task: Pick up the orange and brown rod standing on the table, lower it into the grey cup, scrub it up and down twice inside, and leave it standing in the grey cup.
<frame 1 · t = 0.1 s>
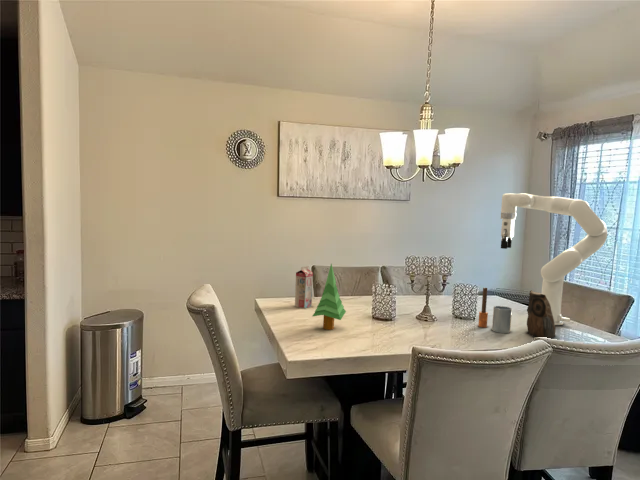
hand: (505, 248, 245), 37 cm above the table, tool pointing down, fingers open, 9 cm apart
grey cup: (501, 330, 214), on the table
orange and brown rod: (482, 326, 220), on the table
juice carton: (303, 306, 248), on the table
decorative tree: (328, 328, 205), on the table
owl: (541, 336, 207), on the table
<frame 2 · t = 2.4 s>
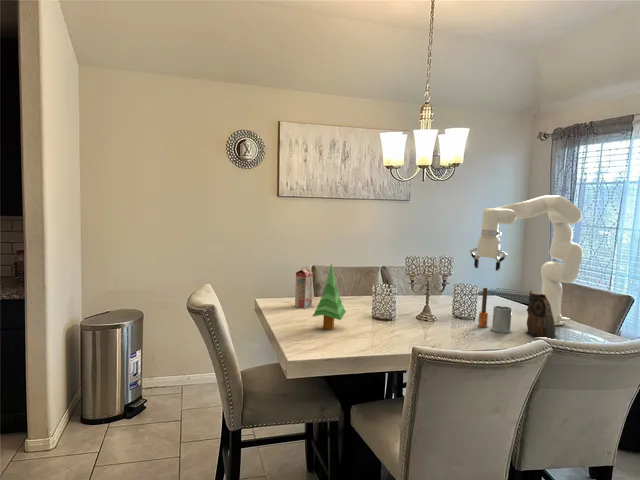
hand: (486, 269, 219), 28 cm above the table, tool pointing down, fingers open, 9 cm apart
nothing on the table moved.
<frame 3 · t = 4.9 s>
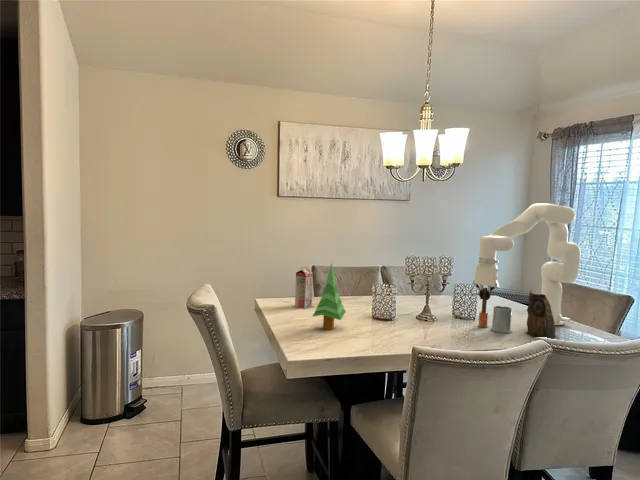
hand: (484, 299, 219), 14 cm above the table, tool pointing down, fingers closed on orange and brown rod, 2 cm apart
orange and brown rod: (482, 326, 220), on the table, touching gripper
everything else where it was.
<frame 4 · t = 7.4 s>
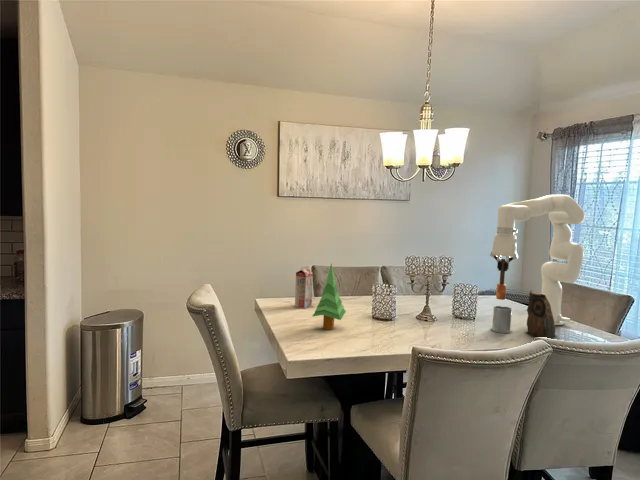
hand: (502, 270, 212), 29 cm above the table, tool pointing down, fingers closed on orange and brown rod
orange and brown rod: (500, 298, 213), point 15 cm above the table, touching gripper
everything else where it was.
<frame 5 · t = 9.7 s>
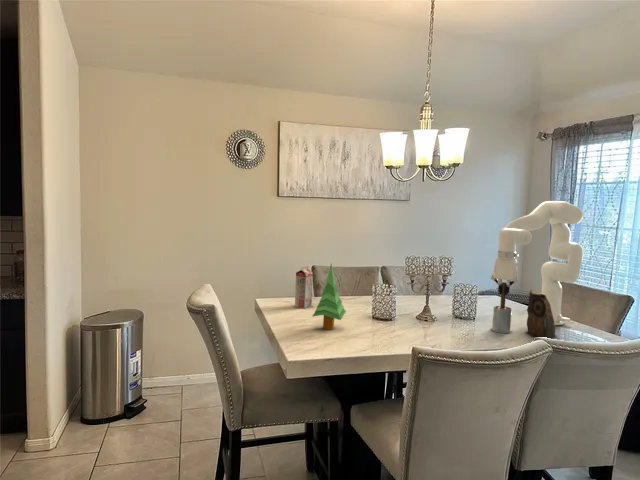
hand: (503, 293, 212), 18 cm above the table, tool pointing down, fingers closed on orange and brown rod
orange and brown rod: (501, 322, 213), point 4 cm above the table, touching gripper
everything else where it was.
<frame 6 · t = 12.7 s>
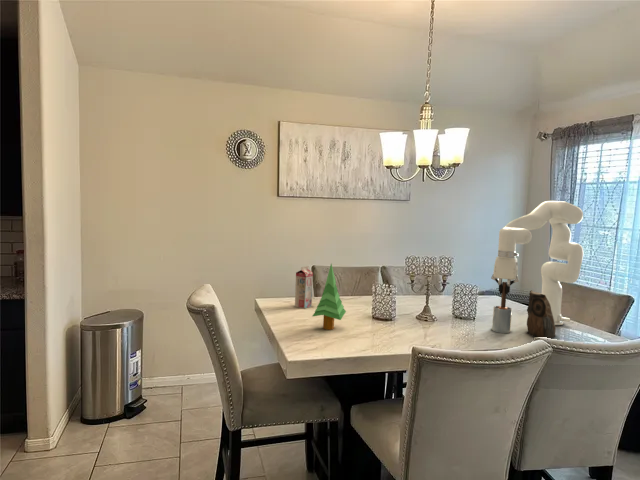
hand: (504, 293, 212), 18 cm above the table, tool pointing down, fingers closed on orange and brown rod
orange and brown rod: (502, 321, 213), point 4 cm above the table, touching gripper
everything else where it was.
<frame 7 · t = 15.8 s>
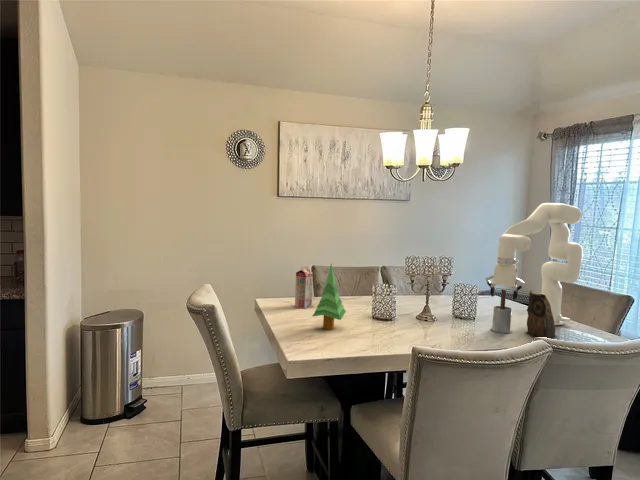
hand: (503, 297, 212), 16 cm above the table, tool pointing down, fingers open, 9 cm apart
orange and brown rod: (501, 329, 213), point 1 cm above the table, touching grey cup
everything else where it was.
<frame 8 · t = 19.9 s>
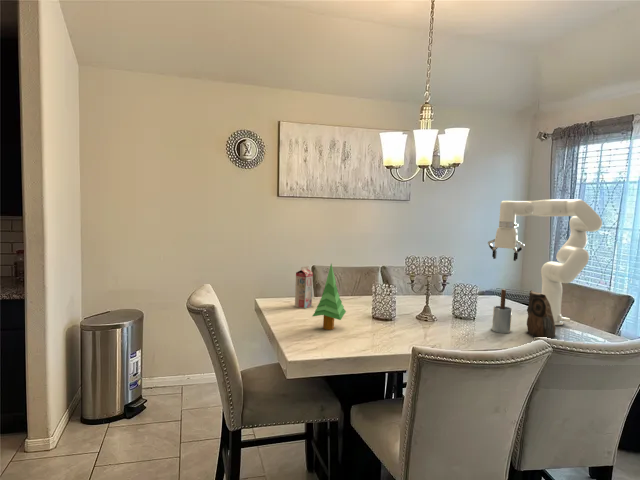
hand: (504, 259, 227), 32 cm above the table, tool pointing down, fingers open, 9 cm apart
nothing on the table moved.
at the end: orange and brown rod 0.2 cm off-centre in the grey cup, point 0.8 cm above the grey cup's base; orange and brown rod tilted 0°; the gripper is holding nothing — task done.
